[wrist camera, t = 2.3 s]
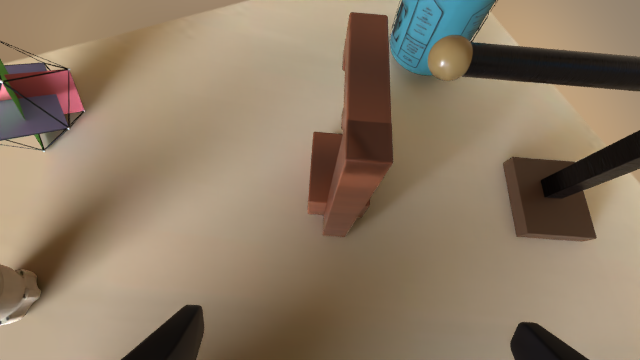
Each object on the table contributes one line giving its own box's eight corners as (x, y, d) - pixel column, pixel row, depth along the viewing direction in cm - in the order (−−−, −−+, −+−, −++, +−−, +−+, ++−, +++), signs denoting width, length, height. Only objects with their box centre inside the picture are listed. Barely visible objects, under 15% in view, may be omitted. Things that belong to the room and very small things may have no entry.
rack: (582, 241, 22) (964, 162, 9) (364, 226, 22) (451, 121, 9) (562, 168, 24) (849, 22, 12) (364, 152, 24) (434, -16, 11)
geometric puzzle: (91, 48, 24) (-73, -9, 17) (120, 110, 22) (-53, 76, 15) (57, 111, 26) (-97, 84, 19) (80, 171, 24) (-82, 167, 17)
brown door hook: (361, 238, 21) (429, 166, 10) (306, 234, 21) (308, 156, 10) (362, 153, 24) (416, 16, 12) (312, 149, 24) (320, 8, 12)
